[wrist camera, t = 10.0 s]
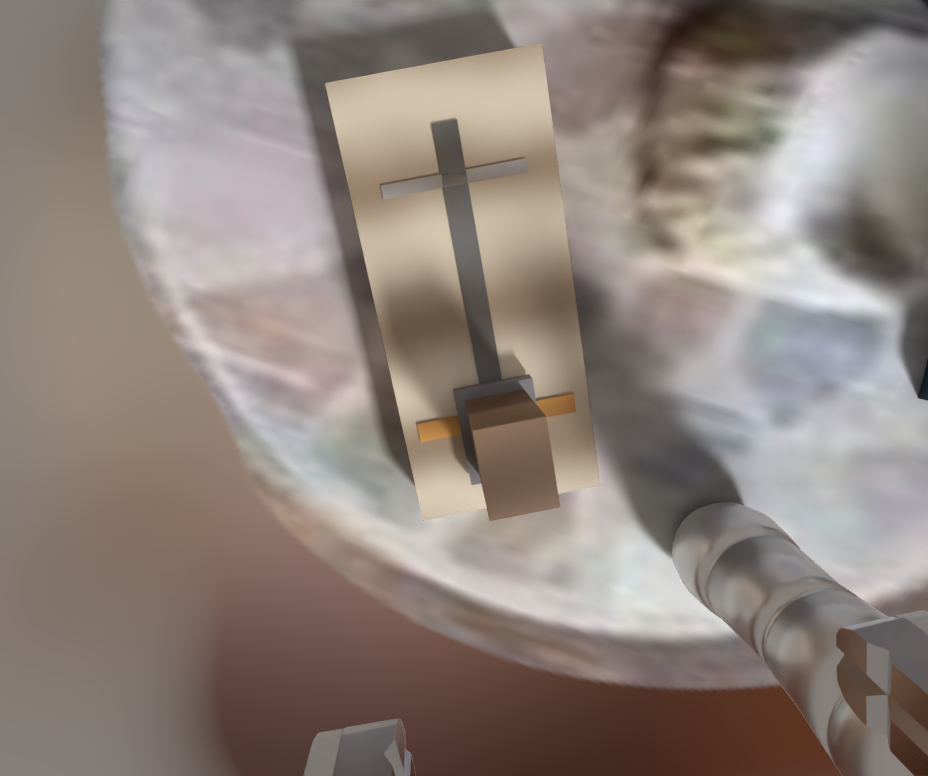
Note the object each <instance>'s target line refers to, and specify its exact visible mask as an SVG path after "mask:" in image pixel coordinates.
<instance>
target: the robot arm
mask: <svg viewBox="0 0 928 776" xmlns="http://www.w3.org/2000/svg"><path fill="white" fill-rule="evenodd" d="M836 646H837V647H838V648H839V649H840V650H841V651H842V652H843V653H844V656H843V657H842V659H841V660H840V662H839V663H838V665H837V666H836V668H837V682H838V685H839V687H840V689H841V692H842V694H843V697H844V699H845V700H846V702H847V703H848V705H849V706H850V708H851V709H852V711H853V712H854V713H855V714H856V715H857V717H858V718H859V719H860V720H861V721H862V722H863V723H864V724H865V725H866V726H867V727H869V728H871V729H873V730H875V731H877V732H879V733H881V734H883V735H885V736H887V739H888V744H889V748H890V751H891V752H892V753H893V754H894V755H895V757H896V758H897V759H898V760H899V761H900V762H901V763H902V764H903V765H904V766H905V767H906V768H907V769H908V770H909V771H910V772H911V773H912V774H913V775H914V776H928V612H927V611H924V610H921V611H916V612H911V613H907V614H902V615H897V616H894V617H887V618H883V619H878V620H874V621H869V622H864V623H860V624H855V625H851V626H846V627H841V628H840V629H839V631H838V632H837V634H836ZM405 737H406V733H405V730H404V727H403V723H402V720H401V719H392V720H387V721H381V722H375V723H369V724H364V725H358V726H352V727H347V728H344V729H339V730H333V731H327V732H321V733H318V734H317V736H316V738H315V739H314V741H313V743H312V746H311V750H310V754H309V757H308V761H307V765H306V769H305V772H304V776H416V775H415V769H414V763H413V759H412V756H411V753H409V752H408V751H407V750H405Z"/></svg>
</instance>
